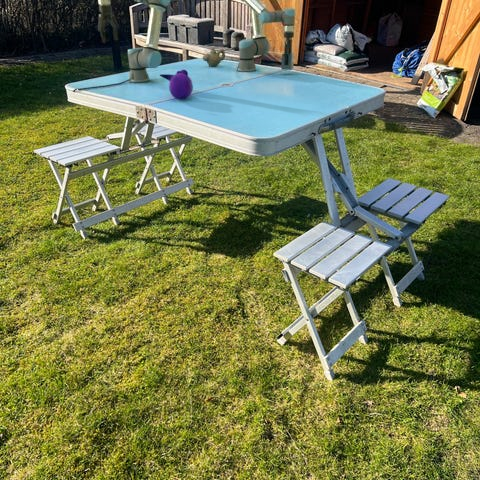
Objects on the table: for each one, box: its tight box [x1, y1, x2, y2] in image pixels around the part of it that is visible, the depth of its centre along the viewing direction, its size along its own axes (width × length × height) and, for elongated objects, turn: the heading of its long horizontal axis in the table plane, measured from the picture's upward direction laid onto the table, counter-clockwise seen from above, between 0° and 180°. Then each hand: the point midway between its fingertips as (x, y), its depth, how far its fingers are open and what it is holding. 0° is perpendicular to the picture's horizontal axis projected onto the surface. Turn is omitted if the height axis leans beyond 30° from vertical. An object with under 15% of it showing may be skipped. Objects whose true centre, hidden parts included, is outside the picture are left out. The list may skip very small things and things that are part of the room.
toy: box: [159, 69, 194, 100], centre depth 286 cm, size 16×18×27 cm
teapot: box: [202, 47, 226, 67], centre depth 386 cm, size 21×12×15 cm, turn 120°
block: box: [280, 52, 295, 71], centre depth 346 cm, size 6×8×11 cm
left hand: (110, 41), depth 294 cm, fingers open, 13 cm apart
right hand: (287, 64), depth 348 cm, fingers closed on block, 6 cm apart
